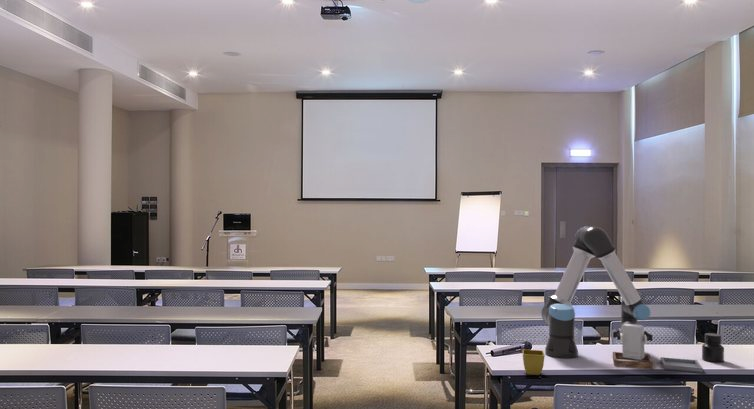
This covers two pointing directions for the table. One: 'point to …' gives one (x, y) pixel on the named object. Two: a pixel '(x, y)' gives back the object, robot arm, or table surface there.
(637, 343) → the skincare box
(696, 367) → the tray
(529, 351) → the flower pot
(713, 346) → the ink bottle
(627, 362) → the wooden tray
